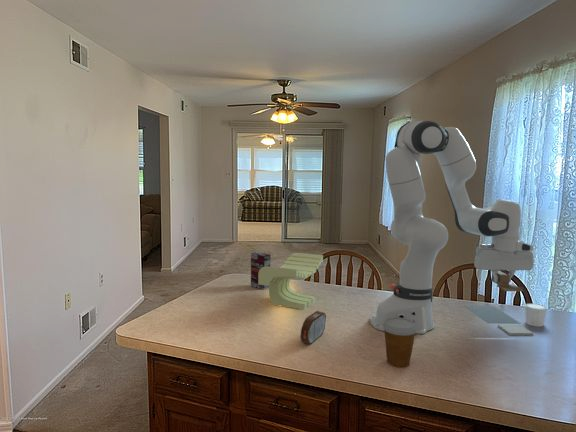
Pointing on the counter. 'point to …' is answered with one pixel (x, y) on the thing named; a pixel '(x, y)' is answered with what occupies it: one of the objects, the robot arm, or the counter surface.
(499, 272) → the tan stepped block
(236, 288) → the counter surface
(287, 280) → the slatted curved stool
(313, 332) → the tin
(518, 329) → the tile
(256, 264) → the supplement box
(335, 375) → the counter surface
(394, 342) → the disposable coffee cup
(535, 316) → the white cup
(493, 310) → the tool rest mat
